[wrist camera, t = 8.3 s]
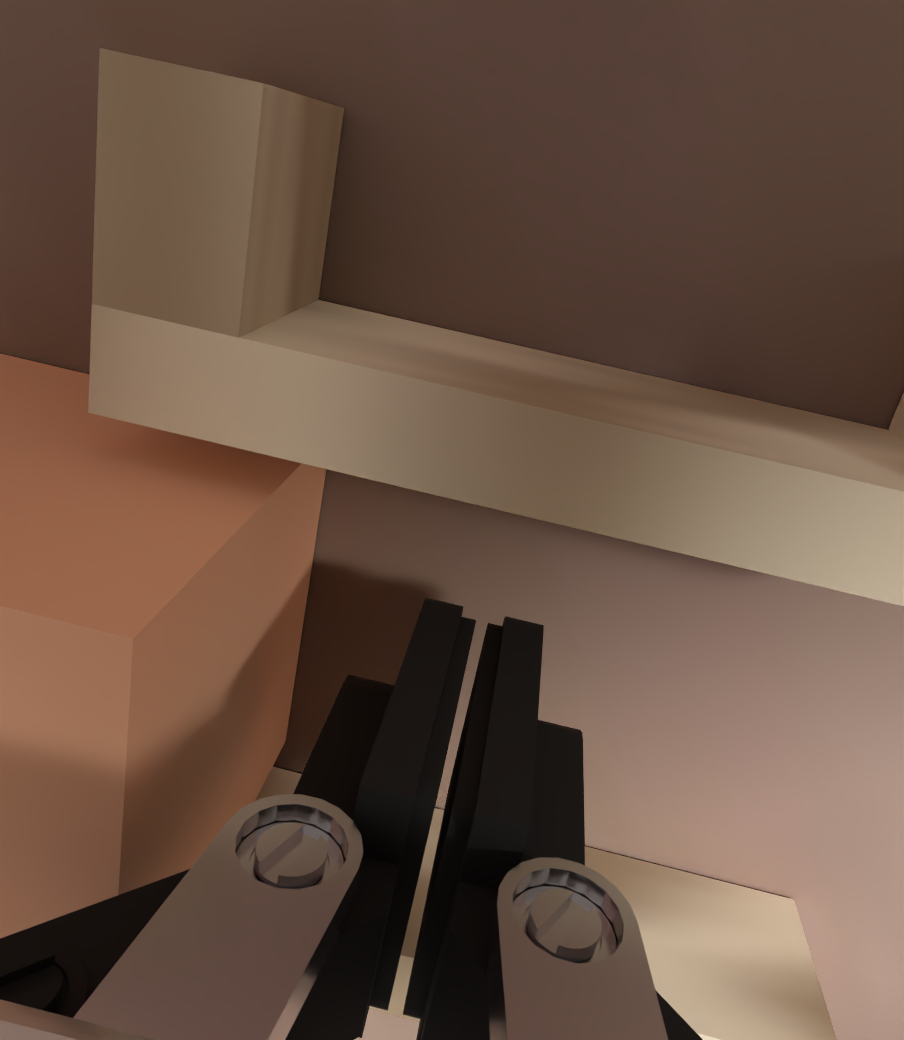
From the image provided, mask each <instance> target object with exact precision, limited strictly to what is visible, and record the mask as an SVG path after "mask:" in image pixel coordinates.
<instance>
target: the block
mask: <svg viewBox="0 0 904 1040" xmlns="http://www.w3.org/2000/svg"><path fill="white" fill-rule="evenodd" d="M88 408H89V374H85V373H81V372H77V371H72V370H68V369H64V368H60V367H55V366H51V365H47V364H43V363H38V362H34V361H30V360H26V359H21V358H17V357H13V356H9V355H4V354H0V938H3V937H6V936H8V935H11V934H14V933H17V932H19V931H22V930H25V929H28V928H30V927H33V926H36V925H38V924H41V923H44V922H47V921H49V920H52V919H55V918H57V917H60V916H63V915H66V914H68V913H71V912H74V911H77V910H79V909H82V908H85V907H87V906H90V905H93V904H96V903H98V902H101V901H104V900H106V899H109V898H112V897H115V896H117V895H120V894H123V893H126V892H128V891H131V890H134V889H136V888H139V887H142V886H145V885H147V884H150V883H153V882H155V881H158V880H161V879H164V878H166V877H169V876H172V875H175V874H177V873H180V872H183V871H185V870H188V869H191V867H192V866H193V865H194V864H195V862H196V861H197V860H198V858H199V857H200V856H201V855H202V853H203V852H204V851H205V850H206V848H207V847H208V846H209V844H210V843H211V842H212V841H213V839H214V838H215V837H216V836H217V834H218V833H219V832H220V830H221V829H222V828H223V827H224V825H225V824H226V823H227V822H228V820H229V819H230V818H231V817H233V816H234V815H235V814H236V813H237V812H238V811H239V810H240V809H241V808H242V807H244V806H246V805H248V804H250V803H252V802H254V801H255V800H256V798H257V796H258V794H259V792H260V790H261V788H262V786H263V784H264V782H265V780H266V778H267V776H268V775H269V773H270V771H271V769H272V767H273V765H274V763H275V761H276V759H277V757H278V755H279V753H280V751H281V749H282V747H283V745H284V743H285V741H286V736H287V729H288V722H289V716H290V709H291V702H292V695H293V689H294V682H295V675H296V669H297V662H298V655H299V649H300V642H301V635H302V629H303V622H304V615H305V609H306V602H307V595H308V589H309V582H310V575H311V569H312V562H313V555H314V549H315V542H316V535H317V529H318V522H319V515H320V509H321V502H322V495H323V489H324V482H325V475H326V469H324V468H319V467H315V466H311V465H307V464H303V463H298V462H294V461H290V460H286V459H282V458H277V457H273V456H269V455H265V454H260V453H256V452H252V451H248V450H244V449H239V448H235V447H231V446H227V445H223V444H218V443H214V442H210V441H206V440H202V439H197V438H193V437H189V436H185V435H180V434H176V433H172V432H168V431H164V430H159V429H155V428H151V427H147V426H143V425H138V424H134V423H130V422H126V421H122V420H117V419H113V418H109V417H105V416H101V415H96V414H92V413H88Z"/></svg>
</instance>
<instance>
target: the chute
mask: <svg viewBox="0 0 904 1040" xmlns="http://www.w3.org/2000/svg"><path fill="white" fill-rule="evenodd" d="M343 114H344V108H342V107H339V106H336V105H332V104H329V103H326V102H323V101H319V100H316V99H313V98H310V97H307V96H303V95H300V94H297V93H294V92H290V91H287V90H284V89H281V88H278V87H274V86H271V85H268V84H265V83H260V82H256V81H251V80H247V79H242V78H237V77H233V76H228V75H223V74H219V73H214V72H210V71H205V70H200V69H196V68H191V67H187V66H182V65H177V64H173V63H168V62H163V61H159V60H154V59H150V58H145V57H140V56H136V55H131V54H126V53H122V52H117V51H113V50H108V49H103V48H99V78H98V111H97V144H96V177H95V210H94V243H93V276H92V309H91V342H90V375H89V408H88V413H92V414H96V415H101V416H105V417H109V418H113V419H117V420H122V421H126V422H130V423H134V424H138V425H143V426H147V427H151V428H155V429H159V430H164V431H168V432H172V433H176V434H180V435H185V436H189V437H193V438H197V439H202V440H206V441H210V442H214V443H218V444H223V445H227V446H231V447H235V448H239V449H244V450H248V451H252V452H256V453H260V454H265V455H269V456H273V457H277V458H282V459H286V460H290V461H294V462H298V463H303V464H307V465H311V466H315V467H319V468H324V469H328V470H332V471H336V472H340V473H345V474H349V475H353V476H357V477H361V478H366V479H370V480H374V481H378V482H383V483H387V484H391V485H395V486H399V487H404V488H408V489H412V490H416V491H420V492H425V493H429V494H433V495H437V496H441V497H446V498H450V499H454V500H458V501H462V502H467V503H471V504H475V505H479V506H484V507H488V508H492V509H496V510H500V511H505V512H509V513H513V514H517V515H521V516H526V517H530V518H534V519H538V520H542V521H547V522H551V523H555V524H559V525H564V526H568V527H572V528H576V529H580V530H585V531H589V532H593V533H597V534H601V535H606V536H610V537H614V538H618V539H622V540H627V541H631V542H635V543H639V544H643V545H648V546H652V547H656V548H660V549H665V550H669V551H673V552H677V553H681V554H686V555H690V556H694V557H698V558H702V559H707V560H711V561H715V562H719V563H723V564H728V565H732V566H736V567H740V568H745V569H749V570H753V571H757V572H761V573H766V574H770V575H774V576H778V577H782V578H787V579H791V580H795V581H799V582H803V583H808V584H812V585H816V586H820V587H824V588H829V589H833V590H837V591H841V592H846V593H850V594H854V595H858V596H862V597H867V598H871V599H875V600H879V601H883V602H888V603H892V604H896V605H900V606H904V393H903V395H902V398H901V400H900V402H899V405H898V407H897V410H896V412H895V414H894V417H893V419H892V421H891V424H890V426H889V429H888V430H887V429H882V428H878V427H874V426H869V425H865V424H860V423H856V422H852V421H847V420H843V419H838V418H834V417H830V416H825V415H821V414H817V413H812V412H808V411H803V410H799V409H795V408H790V407H786V406H781V405H777V404H773V403H768V402H764V401H760V400H755V399H751V398H746V397H742V396H738V395H733V394H729V393H724V392H720V391H716V390H711V389H707V388H703V387H698V386H694V385H689V384H685V383H681V382H676V381H672V380H667V379H663V378H659V377H654V376H650V375H646V374H641V373H637V372H632V371H628V370H624V369H619V368H615V367H610V366H606V365H602V364H597V363H593V362H589V361H584V360H580V359H575V358H571V357H567V356H562V355H558V354H553V353H549V352H545V351H540V350H536V349H532V348H527V347H523V346H518V345H514V344H510V343H505V342H501V341H496V340H492V339H488V338H483V337H479V336H475V335H470V334H466V333H461V332H457V331H453V330H448V329H444V328H439V327H435V326H431V325H426V324H422V323H418V322H413V321H409V320H404V319H400V318H396V317H391V316H387V315H382V314H378V313H374V312H369V311H365V310H361V309H356V308H352V307H347V306H343V305H339V304H334V303H330V302H325V301H321V300H319V293H320V285H321V278H322V270H323V263H324V255H325V248H326V241H327V233H328V226H329V218H330V211H331V203H332V196H333V189H334V181H335V174H336V166H337V159H338V151H339V144H340V137H341V129H342V122H343ZM301 775H302V774H300V773H296V772H292V771H288V770H284V769H281V768H277V767H272V769H271V771H270V773H269V775H268V776H267V778H266V780H265V782H264V784H263V786H262V788H261V790H260V792H259V794H258V796H257V798H256V800H259V799H261V798H265V797H270V796H275V795H279V794H293V793H294V791H295V789H296V786H297V784H298V782H299V780H300V778H301ZM256 800H255V801H256ZM443 813H444V810H441V809H437V808H435V809H434V813H433V817H432V822H431V826H430V831H429V835H428V839H427V843H426V848H425V852H424V856H423V861H422V865H421V869H420V874H419V878H418V882H417V887H416V891H415V895H414V900H413V904H412V908H411V912H410V917H409V921H408V925H407V930H406V934H405V938H404V943H403V947H402V951H401V956H400V960H399V964H398V969H397V973H396V977H395V981H394V986H393V990H392V994H391V999H390V1003H389V1007H388V1011H387V1010H383V1009H379V1008H376V1007H372V1006H369V1008H370V1009H373V1010H377V1011H381V1012H384V1013H388V1014H392V1015H396V1016H399V1017H403V1018H407V1019H411V1020H414V1021H418V1022H420V1019H418V1018H414V1017H410V1016H406V1015H403V1010H404V1005H405V1000H406V995H407V990H408V985H409V980H410V975H411V970H412V965H413V960H414V956H415V951H416V946H417V941H418V936H419V931H420V926H421V921H422V916H423V911H424V907H425V902H426V897H427V892H428V887H429V882H430V877H431V872H432V867H433V862H434V858H435V853H436V848H437V843H438V838H439V833H440V828H441V823H442V818H443ZM585 866H586V867H588V868H590V869H592V870H594V871H596V872H598V873H600V874H601V875H602V876H603V877H605V878H606V879H607V880H608V881H610V882H611V883H612V884H614V885H615V886H616V887H617V888H618V889H619V891H620V892H621V893H622V895H623V896H624V897H625V898H626V900H627V901H628V902H629V903H630V905H631V908H632V910H633V912H634V915H635V917H636V919H637V922H638V925H639V929H640V933H641V937H642V941H643V944H644V948H645V952H646V956H647V960H648V964H649V968H650V971H651V975H652V979H653V983H654V987H655V990H656V991H657V992H658V993H659V994H660V995H661V996H662V997H663V998H664V999H665V1000H666V1001H667V1002H668V1003H669V1005H670V1006H671V1007H672V1008H673V1009H674V1010H675V1011H676V1012H677V1013H678V1014H679V1015H680V1016H681V1017H682V1018H683V1019H684V1020H685V1021H686V1022H687V1023H688V1024H689V1026H690V1027H691V1028H692V1029H693V1030H694V1031H695V1032H696V1033H697V1034H698V1035H699V1036H700V1037H701V1038H702V1039H703V1040H837V1039H836V1036H835V1033H834V1029H833V1026H832V1023H831V1020H830V1016H829V1013H828V1010H827V1007H826V1003H825V1000H824V997H823V993H822V990H821V987H820V984H819V980H818V977H817V974H816V970H815V967H814V964H813V961H812V957H811V954H810V951H809V948H808V944H807V941H806V938H805V934H804V931H803V928H802V925H801V921H800V918H799V915H798V912H797V908H796V905H795V902H794V899H790V898H786V897H782V896H778V895H774V894H770V893H766V892H762V891H758V890H755V889H751V888H747V887H743V886H739V885H735V884H731V883H727V882H723V881H719V880H715V879H711V878H708V877H704V876H700V875H696V874H692V873H688V872H684V871H680V870H676V869H672V868H668V867H664V866H661V865H657V864H653V863H649V862H645V861H641V860H637V859H633V858H629V857H625V856H621V855H617V854H614V853H610V852H606V851H602V850H598V849H594V848H590V847H586V846H585Z"/></svg>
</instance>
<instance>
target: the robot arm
mask: <svg viewBox="0 0 904 1040" xmlns="http://www.w3.org/2000/svg"><path fill="white" fill-rule="evenodd" d="M462 611H463V607H462V606H458V605H454V604H450V603H445V602H441V601H437V600H432V599H428V598H426V599H425V601H424V604H423V607H422V609H421V612H420V615H419V618H418V621H417V624H416V626H415V629H414V632H413V635H412V638H411V641H410V643H409V646H408V649H407V652H406V655H405V658H404V661H403V663H402V666H401V669H400V672H399V675H398V678H397V680H396V683H395V686H394V685H390V684H386V683H381V682H377V681H373V680H369V679H365V678H360V677H356V676H352V675H349V676H347V678H346V679H345V681H344V683H343V685H342V688H341V690H340V692H339V694H338V696H337V699H336V701H335V703H334V705H333V707H332V710H331V712H330V714H329V716H328V718H327V721H326V723H325V725H324V727H323V729H322V731H321V734H320V736H319V738H318V740H317V742H316V745H315V747H314V749H313V751H312V753H311V756H310V758H309V760H308V762H307V764H306V767H305V769H304V771H303V773H302V775H301V778H300V780H299V782H298V784H297V786H296V789H295V791H294V793H293V794H279V795H275V796H270V797H265V798H261V799H259V800H256V801H254V802H252V803H250V804H248V805H246V806H244V807H242V808H241V809H240V810H239V811H238V812H237V813H236V814H235V815H234V816H233V817H231V818H230V819H229V820H228V822H227V823H226V824H225V825H224V827H223V828H222V829H221V830H220V832H219V833H218V834H217V836H216V837H215V838H214V839H213V841H212V842H211V843H210V844H209V846H208V847H207V848H206V850H205V851H204V852H203V853H202V855H201V856H200V857H199V858H198V860H197V861H196V862H195V864H194V865H193V866H192V867H191V869H188V870H185V871H183V872H180V873H177V874H175V875H172V876H169V877H166V878H164V879H161V880H158V881H155V882H153V883H150V884H147V885H145V886H142V887H139V888H136V889H134V890H131V891H128V892H126V893H123V894H120V895H117V896H115V897H112V898H109V899H106V900H104V901H101V902H98V903H96V904H93V905H90V906H87V907H85V908H82V909H79V910H77V911H74V912H71V913H68V914H66V915H63V916H60V917H57V918H55V919H52V920H49V921H47V922H44V923H41V924H38V925H36V926H33V927H30V928H28V929H25V930H22V931H19V932H17V933H14V934H11V935H8V936H6V937H3V938H0V1040H354V1039H356V1038H357V1037H360V1038H362V1035H363V1031H364V1026H365V1022H366V1018H367V1014H368V1010H369V1006H372V1007H376V1008H379V1009H383V1010H387V1011H388V1007H389V1003H390V999H391V994H392V990H393V986H394V981H395V977H396V973H397V969H398V964H399V960H400V956H401V951H402V947H403V943H404V938H405V934H406V930H407V925H408V921H409V917H410V912H411V908H412V904H413V900H414V895H415V891H416V887H417V882H418V878H419V874H420V869H421V865H422V861H423V856H424V852H425V848H426V843H427V839H428V835H429V831H430V826H431V822H432V817H433V813H434V809H435V804H436V800H437V795H438V791H439V786H440V782H441V777H442V773H443V768H444V764H445V759H446V755H447V750H448V745H449V741H450V736H451V732H452V727H453V723H454V718H455V714H456V709H457V704H458V700H459V695H460V691H461V686H462V682H463V677H464V673H465V668H466V664H467V659H468V654H469V650H470V645H471V641H472V636H473V632H474V627H475V623H476V620H473V619H469V618H465V617H461V616H462ZM542 644H543V625H539V624H535V623H531V622H527V621H522V620H518V619H514V618H510V617H505V619H504V622H503V626H499V625H494V624H490V623H488V625H487V629H486V633H485V637H484V642H483V646H482V650H481V654H480V658H479V663H478V667H477V671H476V675H475V679H474V684H473V688H472V692H471V696H470V701H469V705H468V709H467V713H466V717H465V722H464V726H463V730H462V734H461V738H460V743H459V747H458V751H457V755H456V759H455V764H454V768H453V772H452V776H451V781H450V785H449V790H448V794H447V799H446V804H445V808H444V813H443V818H442V823H441V828H440V833H439V838H438V843H437V848H436V853H435V858H434V862H433V867H432V872H431V877H430V882H429V887H428V892H427V897H426V902H425V907H424V911H423V916H422V921H421V926H420V931H419V936H418V941H417V946H416V951H415V956H414V960H413V965H412V970H411V975H410V980H409V985H408V990H407V995H406V1000H405V1005H404V1010H403V1015H406V1016H410V1017H414V1018H418V1019H420V1023H419V1029H418V1034H417V1040H703V1039H702V1038H701V1037H700V1036H699V1035H698V1034H697V1033H696V1032H695V1031H694V1030H693V1029H692V1028H691V1027H690V1026H689V1024H688V1023H687V1022H686V1021H685V1020H684V1019H683V1018H682V1017H681V1016H680V1015H679V1014H678V1013H677V1012H676V1011H675V1010H674V1009H673V1008H672V1007H671V1006H670V1005H669V1003H668V1002H667V1001H666V1000H665V999H664V998H663V997H662V996H661V995H660V994H659V993H658V992H657V991H656V990H655V987H654V983H653V979H652V975H651V971H650V968H649V964H648V960H647V956H646V952H645V948H644V944H643V941H642V937H641V933H640V929H639V925H638V922H637V919H636V917H635V915H634V912H633V910H632V908H631V905H630V903H629V902H628V901H627V900H626V898H625V897H624V896H623V895H622V893H621V892H620V891H619V889H618V888H617V887H616V886H615V885H614V884H612V883H611V882H610V881H608V880H607V879H606V878H605V877H603V876H602V875H601V874H600V873H598V872H596V871H594V870H592V869H590V868H588V867H586V866H585V836H584V781H583V737H582V732H581V731H580V730H578V729H574V728H569V727H565V726H561V725H557V724H553V723H549V722H544V721H540V720H538V706H539V690H540V675H541V660H542Z"/></svg>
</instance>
